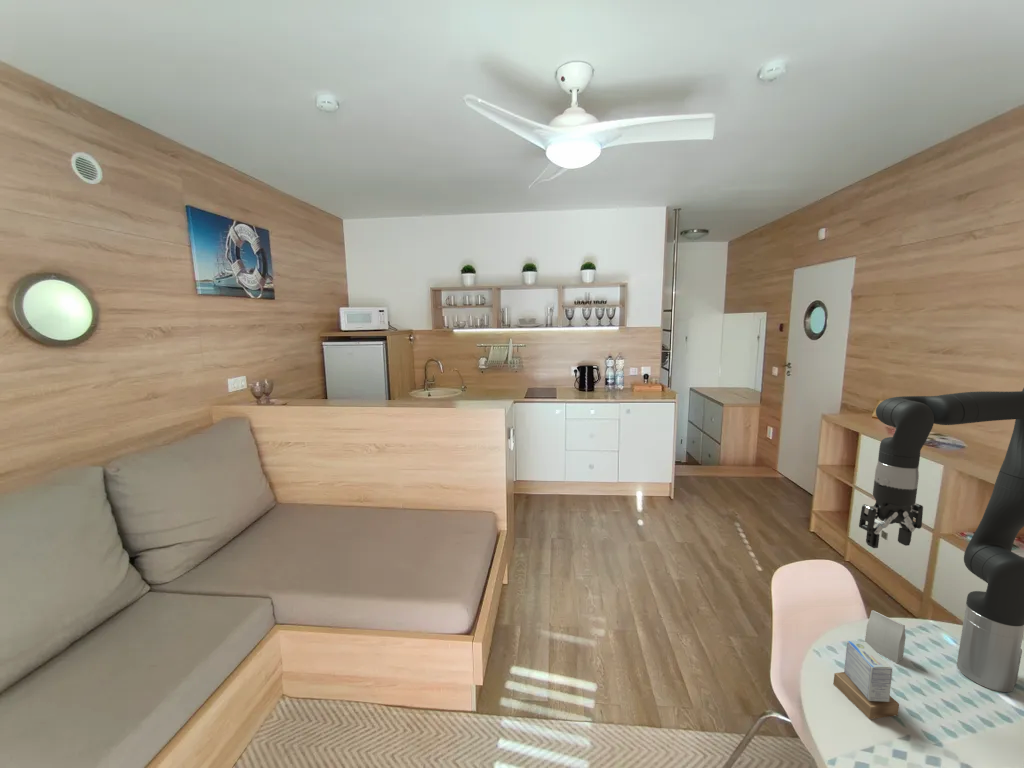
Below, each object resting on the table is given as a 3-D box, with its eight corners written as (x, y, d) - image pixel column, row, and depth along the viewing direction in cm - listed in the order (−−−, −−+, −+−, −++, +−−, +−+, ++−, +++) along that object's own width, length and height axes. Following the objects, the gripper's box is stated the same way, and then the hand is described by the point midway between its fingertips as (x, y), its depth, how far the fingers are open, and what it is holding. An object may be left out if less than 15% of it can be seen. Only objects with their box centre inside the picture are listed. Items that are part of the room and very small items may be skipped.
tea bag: (896, 663, 105) (901, 628, 103) (864, 645, 110) (868, 612, 109) (902, 658, 106) (907, 623, 105) (870, 640, 112) (874, 607, 111)
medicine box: (889, 703, 90) (894, 668, 89) (868, 701, 91) (872, 667, 90) (862, 673, 98) (866, 641, 97) (843, 672, 98) (846, 639, 97)
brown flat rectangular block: (859, 681, 100) (860, 669, 99) (897, 715, 91) (899, 703, 90) (833, 684, 99) (834, 672, 98) (869, 719, 90) (870, 706, 89)
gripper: (905, 474, 101) (897, 535, 104) (853, 477, 100) (847, 539, 102) (939, 486, 94) (930, 551, 96) (884, 489, 92) (876, 555, 95)
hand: (887, 545), depth 99 cm, fingers open, 8 cm apart
